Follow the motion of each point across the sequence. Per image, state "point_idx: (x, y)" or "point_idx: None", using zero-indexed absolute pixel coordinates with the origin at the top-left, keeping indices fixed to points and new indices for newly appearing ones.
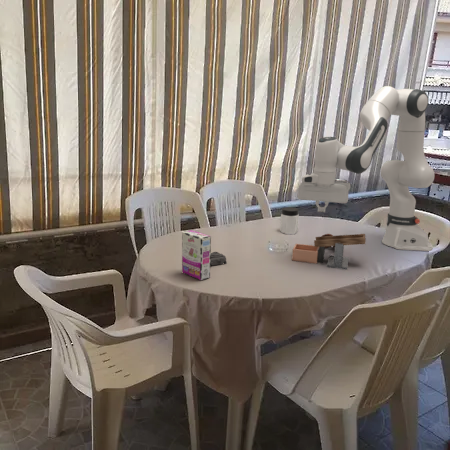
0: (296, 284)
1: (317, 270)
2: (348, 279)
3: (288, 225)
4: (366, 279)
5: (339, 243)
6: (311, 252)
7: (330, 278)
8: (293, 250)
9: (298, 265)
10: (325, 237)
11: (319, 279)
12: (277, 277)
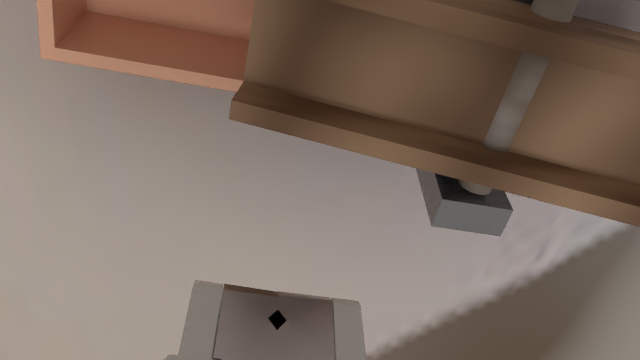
0: (168, 350)
1: (281, 177)
2: (447, 269)
3: None
4: (552, 255)
5: (474, 215)
6: (225, 85)
7: (347, 271)
8: (53, 54)
9: (146, 111)
10: (372, 8)
11: (284, 290)
12: (56, 298)
